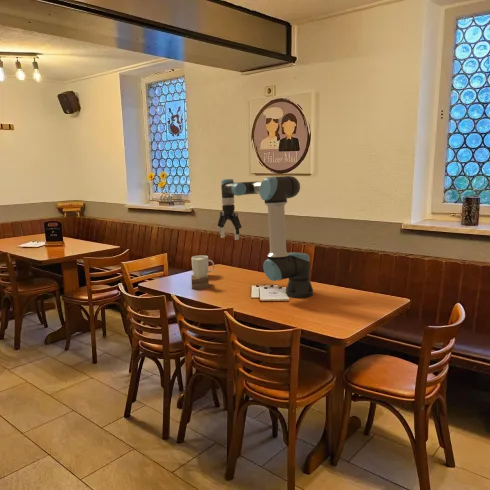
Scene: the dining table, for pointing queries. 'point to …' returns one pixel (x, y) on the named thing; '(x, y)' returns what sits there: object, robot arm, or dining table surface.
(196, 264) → the sage block
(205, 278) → the walnut base
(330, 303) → the dining table surface
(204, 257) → the mug
